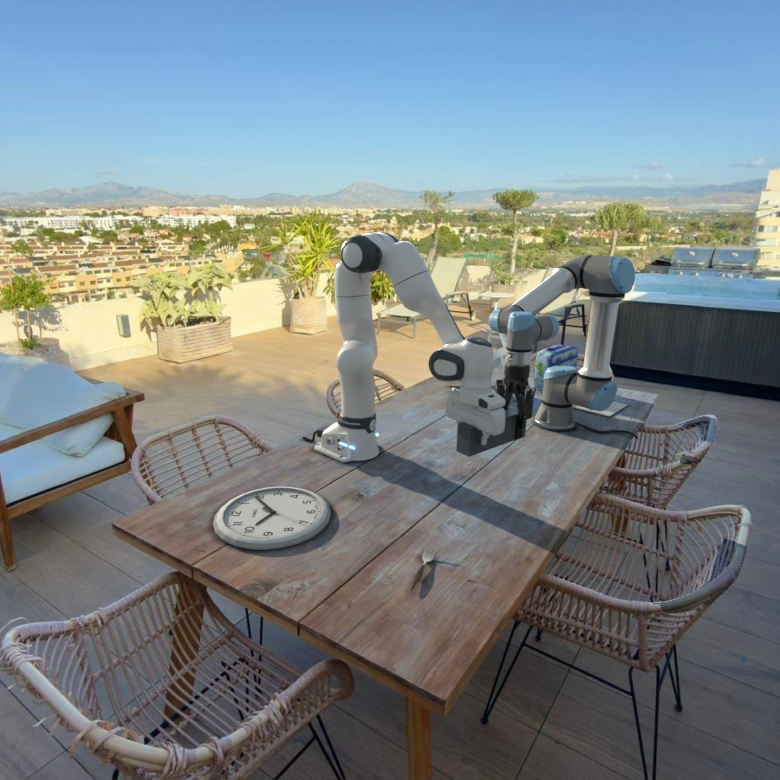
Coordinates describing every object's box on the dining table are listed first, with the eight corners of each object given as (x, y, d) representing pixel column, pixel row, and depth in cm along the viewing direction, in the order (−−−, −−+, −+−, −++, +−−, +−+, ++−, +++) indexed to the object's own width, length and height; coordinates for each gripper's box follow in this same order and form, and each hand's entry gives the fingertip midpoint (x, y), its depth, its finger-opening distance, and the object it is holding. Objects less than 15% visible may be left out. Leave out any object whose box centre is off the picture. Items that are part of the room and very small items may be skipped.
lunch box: (550, 397, 237) (555, 352, 231) (529, 391, 245) (533, 348, 238) (577, 386, 255) (582, 344, 249) (556, 381, 262) (561, 340, 256)
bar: (512, 431, 169) (514, 406, 166) (525, 436, 165) (527, 410, 162) (456, 451, 154) (457, 423, 151) (468, 456, 150) (470, 428, 147)
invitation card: (608, 416, 214) (573, 407, 224) (608, 416, 214) (573, 408, 224) (628, 404, 229) (594, 396, 238) (628, 405, 229) (594, 397, 238)
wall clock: (329, 541, 123) (198, 546, 121) (329, 547, 124) (199, 552, 121) (332, 482, 152) (226, 484, 149) (332, 487, 152) (226, 489, 150)
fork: (405, 590, 110) (405, 582, 109) (426, 549, 124) (426, 541, 123) (417, 593, 109) (417, 585, 108) (437, 551, 123) (437, 544, 122)
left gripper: (442, 387, 155) (439, 431, 159) (495, 406, 139) (491, 453, 143) (457, 384, 158) (454, 426, 162) (510, 401, 143) (506, 448, 147)
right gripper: (486, 359, 162) (481, 429, 169) (534, 372, 148) (526, 447, 155) (502, 356, 166) (496, 424, 173) (550, 368, 153) (542, 441, 160)
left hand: (472, 439), depth 153 cm, fingers open, 7 cm apart
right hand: (511, 435), depth 164 cm, fingers closed on bar, 5 cm apart
